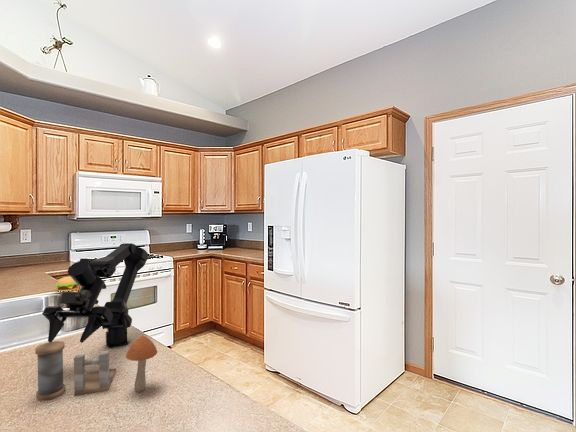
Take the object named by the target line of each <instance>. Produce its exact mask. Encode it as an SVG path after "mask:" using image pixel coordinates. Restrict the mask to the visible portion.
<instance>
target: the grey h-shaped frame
mask: <svg viewBox="0 0 576 432" xmlns="http://www.w3.org/2000/svg"><path fill="white" fill-rule="evenodd" d="M85 355H86V354H85V353H82V354H76V355H75V356H74V357H73V381H74V382H73V385H74V386H73V387H74V388H73V390H74V391H73V396H74V397H75V396H81V395H86V394H88V395H89V394H94V393H100V392H107V391H109V388H110V386H111V383H113V379H114V377H115V375H116V373H117V368H110V351H109V350H107V351H101V352H100V353H99V354H98V355H99V356H98V358H91V359H90V358H89V359H85V358H86V357H85ZM91 365H98V367H99V369H98V370H94V371H88V372H87V371H86V366H91Z"/></svg>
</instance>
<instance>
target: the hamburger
mask: <svg viewBox="0 0 576 432" xmlns="http://www.w3.org/2000/svg"><path fill="white" fill-rule="evenodd" d="M55 286H56V290H57V292H58V291H70V290H71V292H76V290H78V286H79V285H78V284H77V283H76V282H75V281H74V280H73V279H72V277H71V276H70V275H68V276H63V277H61V278H59V279H58V280H57V282H56V283H55ZM72 290H73V291H72Z"/></svg>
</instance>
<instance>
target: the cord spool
mask: <svg viewBox="0 0 576 432" xmlns="http://www.w3.org/2000/svg"><path fill="white" fill-rule="evenodd" d="M65 347H66V345H65V342H64V341H61V340H60V341H58V340H57V341H52V342H45V343H43V344H40V345H38V346H36V347H35V348H34V350H35V351H34V352H35V355H37V391H36V392H35V398H36V400H37V401H40V402H41V401H50V400H54V399H56V398H59V397H61V396H62V395H63V394H64V393H65V392H66V384H65V383H64V353H63V351H64V349H65Z"/></svg>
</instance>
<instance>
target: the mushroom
mask: <svg viewBox="0 0 576 432" xmlns="http://www.w3.org/2000/svg"><path fill="white" fill-rule="evenodd" d="M157 354H158V350H157V348H156V345H155V344H154V342H153V341H152V340H151V339H150V338H149V337H147V336H145V335H143V334H142V335H140V336H138V337H137V338H136V339H135V340H133V342H132V344H131V345H130V346H129V348H128V350H127V351H126V354H125V358H126V359H127V360H129V361H135V362H137V370H136V374H135V381H134V391H135V392H137V393H138V392H139V393H140V392H143V391H145V389H146V387H147V386H146V385H147V382H146V379H147V378H146V364H147V360H149V359H151V358H154V357H155V356H156V355H157Z"/></svg>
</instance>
